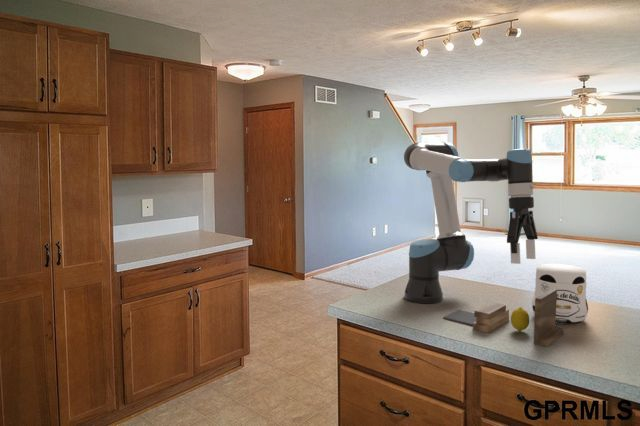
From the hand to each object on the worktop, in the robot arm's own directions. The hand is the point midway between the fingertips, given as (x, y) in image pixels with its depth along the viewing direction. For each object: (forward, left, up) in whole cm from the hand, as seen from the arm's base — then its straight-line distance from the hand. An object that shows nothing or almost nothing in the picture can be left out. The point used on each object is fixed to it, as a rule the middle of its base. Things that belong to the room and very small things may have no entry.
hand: (523, 261), depth 156 cm
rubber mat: (-17, -5, -22) cm, 29 cm away
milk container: (+7, +16, -22) cm, 28 cm away
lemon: (+2, -5, -22) cm, 23 cm away
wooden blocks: (+2, -5, -22) cm, 23 cm away
